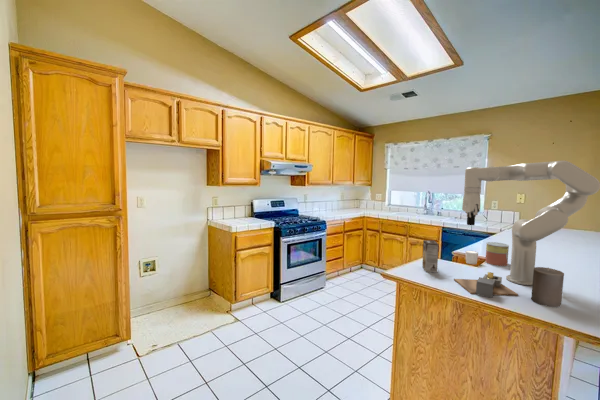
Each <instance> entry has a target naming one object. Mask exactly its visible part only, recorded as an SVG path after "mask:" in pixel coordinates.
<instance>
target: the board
mask: <svg viewBox="0 0 600 400" xmlns="http://www.w3.org/2000/svg"><path fill="white" fill-rule="evenodd" d="M477 280H478V279H470V278H469V279H468V278H467V279H466V278H465V279H464V278H454V279H453V281H454V282H455V283H457V285H459V286H461V287H462V288H463V289H464V290H465V291H467V293H469V294H470V295H477V294H476V284H477ZM493 296H509V297H511V296H512V297H519V293H517V292H516V291H514V290H512V289H511V288H509V287H508V286H505V285H504V284H503V283H501V286H500V288H499V287H495V288H494V290H493Z"/></svg>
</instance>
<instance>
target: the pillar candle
mask: <svg viewBox="0 0 600 400" xmlns="http://www.w3.org/2000/svg"><path fill="white" fill-rule="evenodd" d="M564 276H565V273H564V272H563V271H561V270H558V269H555V268H551V267H544V266H543V267H542V266H537V267H536V266H535V268H534V272H533V283H532V287H531V298H530V300H531V301H533V302H534V303H536V304H538V305H540V306H545V307H549V308H561V306H562V302H563V301H562V299H563V289H564V278H565V277H564Z"/></svg>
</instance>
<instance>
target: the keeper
mask: <svg viewBox="0 0 600 400" xmlns="http://www.w3.org/2000/svg"><path fill="white" fill-rule="evenodd" d="M476 280H477V284H476V294H475V295H477V296H482V297H486V298H490V299H492V298H493V296H494V295H493V285H494V283H495V280H491V279H486V278H483V277H478V279H476Z"/></svg>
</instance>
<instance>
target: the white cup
mask: <svg viewBox="0 0 600 400" xmlns="http://www.w3.org/2000/svg"><path fill="white" fill-rule="evenodd" d="M478 257H479V252H478V251H476V250H475V251H474V250H465V262H466V264H468V265H477V263H478V259H479V258H478Z"/></svg>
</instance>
